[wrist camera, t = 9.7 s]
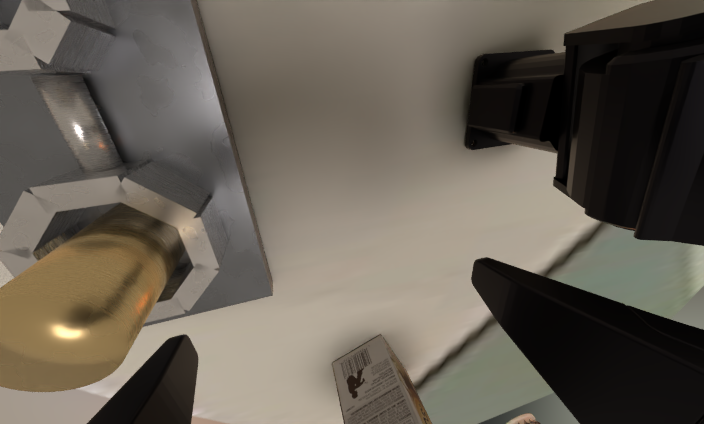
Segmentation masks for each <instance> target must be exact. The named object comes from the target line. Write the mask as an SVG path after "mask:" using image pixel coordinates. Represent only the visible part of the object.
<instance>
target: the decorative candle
mask: <svg viewBox="0 0 704 424" xmlns="http://www.w3.org/2000/svg"><path fill="white" fill-rule="evenodd" d="M506 424H540V423H539V422H537V421H535V417H534V416H533V415H532V414H529V413H527V414H523V415H519V416H517V417H516V418H513V419H512V420H510V421H509V422H507V423H506Z"/></svg>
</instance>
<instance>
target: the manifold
mask: <svg viewBox="0 0 704 424" xmlns="http://www.w3.org/2000/svg"><path fill="white" fill-rule="evenodd" d="M120 203H124V204H126V205H128V206H130V207H132V208H135V209H137V210H139V211H141V212H143V213H146V214H148V215H150V216H152V217H154V218H156V219H159V220H161V221H163V222H165V223H167V224H170V225H172V226H174V227H176V228H177V229H178V231H179V234H180V236H181V238H182V241H183V243H184V245H185V248H186V250H185V252H184V254H183V256H182V257H181V259H180V261H179V263H178V265H177V266H176V268H175V270H174V272H173V273H172V275H171V277H170V279H169V281H168V282H167V284H166V286H165V288H164V289H163V291H162V293H161V295H160V297H159V298H158V300H157V302H156V304H155V305H154V307H153V309H152V311H151V313H150V314H149V316H148V318H147V320H146V322H145V323H144V325H143V327H144V326H148V325H152V324H157V323H161V322H165V321H169V320H173V319H177V318H181V317H185V316H190V315H194V314H198V313H202V312H206V311H210V310H214V309H219V308H223V307H227V306H231V305H235V304H239V303H243V302H247V301H252V300H256V299H260V298H264V297H268V296H272V295H273V282H272V278H271V274H270V271H269V267H268V263H267V260H266V256H265V252H264V248H263V245H262V241H261V237H260V234H259V230H258V226H257V223H256V219H255V215H254V211H253V208H252V204H251V200H250V197H249V193H248V189H247V186H246V182H245V178H244V175H243V171H242V167H241V163H240V160H239V156H238V152H237V149H236V145H235V141H234V138H233V134H232V130H231V126H230V123H229V119H228V115H227V112H226V108H225V104H224V101H223V97H222V93H221V89H220V86H219V82H218V78H217V75H216V71H215V67H214V64H213V60H212V56H211V52H210V49H209V45H208V41H207V38H206V34H205V30H204V27H203V23H202V19H201V16H200V12H199V8H198V4H197V1H196V0H0V223H1V224H2V225H3V226H4V228H3V230H2V232H1V234H0V261H1V262H2V263H3V264H4V265H5V267H6V268H7V269H8V270H9V271H10V273H11V274H12V275H13V276H14V277H16V276H18V275H19V274H21V273H22V272H23V271H25V270H26V269H28V268H29V267H30V266H32V265H33V264H35V263H36V262H37V261H39V260H40V259H42V258H43V257H44V256H46V255H47V254H49V253H50V252H51V251H53V250H54V249H56V248H57V247H58V246H60V245H61V244H63V243H64V242H65V241H67V240H68V239H70V238H71V237H72V236H74V235H75V234H77V233H78V232H79V231H81V230H82V229H84V228H85V227H86V226H88V225H89V224H91V223H92V222H93V221H95V220H96V219H98V218H99V217H100V216H102V215H103V214H105V213H106V212H107V211H109V210H110V209H112V208H113V207H114V206H116V205H118V204H120Z"/></svg>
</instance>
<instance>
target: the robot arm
mask: <svg viewBox="0 0 704 424" xmlns="http://www.w3.org/2000/svg"><path fill="white" fill-rule="evenodd" d="M564 46H566V52H561V53H555V52H554V51H553V50H540V51H525V52H509V53H494V54H483V55H480V56H478V57H477V59H476V61H475V65H474V74H473V82H472V91H471V99H470V108H469V116H468V125H467V134H466V142H465V145H466V148H468V149H471V150H476V149H482V148H489V147H495V146H502V145H509V144H516V145H521V146H525V147H530V148H535V149H539V150H544V151H548V152H553V153H557V166H556V176H555V177H554V180H553V186H554V187H556V188H557V189H559V190H560V191H561V192H563V193H564V194H566V195H567V196H568V197H570V198H571V199H572V200H574V201H575V202H576V203H577V204H579V205H580V206H581V207H583V208H585V214H586V215H588V216H589V217H591V218H594V219H596V220H599V221H601V222H604V223H607V224H610V225H613V226H616V227H620V228H623V229H627V230H633V231H635V233H634V237H635V238H637V239H640V240H658V241H674V242H681V243H688V244H695V245H702V246H704V0H653V1H650V2H646V3H642V4H639V5H636V6H634V7H631V8H629V9H626V10H623V11H621V12H618V13H616V14H613V15H611V16H608V17H606V18H603V19H600V20H598V21H595V22H593V23H590V24H588V25H585V26H583V27H580V28H577V29H575V30H572V31H570V32H567V33H565V34H564ZM482 60H484V65H483V66H482ZM473 141H474V143H473V145H471V144H472V142H473ZM471 280H472V284H473V286H474V287H475V289H476V290H477V292H478V293H479V295H480V296H481V298H482V299H483V301H484V302H485V304H486V305H487V307H488V308H489V310H490V311H491V313H492V314H493V316H494V317H495V319H496V320H497V321H498V323H499V324H500V325H501V327H502V328H503V329H504V331H505V332H506V333H507V334H508V336H509V337H510V338H511V339H512V341H513V342H514V343H515V344H516V345H517V347H518V348H519V349H520V350H521V352H522V353H523V354H524V355H525V357H526V358H527V359H528V360H529V361H530V363H531V364H532V365H533V366H534V368H535V369H536V370H537V371H538V373H539V374H540V375H541V376H542V377H543V379H544V380H545V381H546V382H547V384H548V385H549V386H550V387H551V389H552V390H553V391H554V392H555V393H556V395H557V396H558V397H559V398H560V400H561V401H562V402H563V403H564V405H565V406H566V407H567V408H568V409H569V411H570V412H571V413H572V414H573V416H574V417H575V418H576V419H577V421H578V422H579V423H580V424H704V330H702V329H699V328H696V327H693V326H689V325H686V324H683V323H680V322H676V321H673V320H670V319H667V318H664V317H661V316H658V315H655V314H652V313H649V312H646V311H643V310H640V309H637V308H634V307H632V306H628V305H627V306H626V305H625V304H623V303H620V302H617V301H614V300H611V299H608V298H605V297H602V296H599V295H596V294H593V293H590V292H587V291H585V290H582V289H579V288H576V287H573V286H570V285H567V284H564V283H561V282H558V281H555V280H552V279H549V278H546V277H544V276H541V275H538V274H535V273H532V272H529V271H526V270H523V269H520V268H517V267H514V266H511V265H508V264H505V263H503V262H500V261H497V260H494V259H491V258H487V257H485V258H481V259H477V260H475V262H474V265H473V271H472V277H471ZM197 369H198V354H197V352H196V350H195V348H194V346H193V344H192V342H191V340H190V338H189V337H188V336H187V335H179V336H175V337H172V338H169V339H168V340H167V341H165V343H164V344H163V345H162V346H161V347H160V348H159V349H158V350H157V351H156V352H155V353H154V354H153V355H152V356H151V357H150V358H149V359H148V360H147V361H146V362H145V363H144V364H143V366H142V367H141V368H140V369H139V370H138V371H137V372H136V373H135V374H134V375H133V376H132V377H131V378H130V379H129V380H128V381H127V382H126V383H125V384H124V385H123V386H122V387H121V389H120V390H119V391H118V392H117V393H116V394H115V395H114V396H113V397H112V398H111V399H110V400H109V401H108V402H107V403H106V404H105V405H104V406H103V407H102V408H101V410H99V412H98V413H97V414H96V415H95V416H94V417H93V418H92V419H91V420H90V421H89V422H88V423H87V424H191V418H192V412H193V403H194V395H195V386H196V378H197Z"/></svg>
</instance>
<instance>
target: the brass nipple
mask: <svg viewBox="0 0 704 424" xmlns="http://www.w3.org/2000/svg"><path fill="white" fill-rule="evenodd" d="M185 250H186V248H185V245H184V243H183V241H182V238H181V236H180V234H179V231H178V229H177V228H176V227H174V226H172V225H170V224H167V223H165V222H163V221H161V220H159V219H156V218H154V217H152V216H150V215H148V214H146V213H143V212H141V211H139V210H137V209H135V208H132V207H130V206H128V205H126V204H124V203H120V204H118V205H116V206H114V207H113V208H112V209H110V210H109V211H107V212H106V213H105V214H103V215H102V216H100V217H99V218H98V219H96V220H95V221H93V222H92V223H91V224H89V225H88V226H86V227H85V228H84V229H82V230H81V231H79V232H78V233H77V234H75V235H74V236H72V237H71V238H70V239H68V240H67V241H65V242H64V243H63V244H61V245H60V246H58V247H57V248H56V249H54V250H53V251H51V252H50V253H49V254H47V255H46V256H44V257H43V258H42V259H40V260H39V261H37V262H36V263H35V264H33V265H32V266H30V267H29V268H28V269H26V270H25V271H23V272H22V273H21V274H19V275H18V276H16V277H15V278H14V279H12V280H11V281H9V282H8V283H7V284H5V285H4V286H2V287H1V288H0V386H1V387H5V388H9V389H15V390H21V391H30V392H55V391H64V390H71V389H76V388H80V387H84V386H87V385H90V384H93V383H95V382H97V381H100V380H102V379H103V378H105V377H107V376H108V375H110V374H111V373H113V372H114V371H115V370H116V369H117V368H118V367H119V366H120V365H121V364H122V362H123V361H124V359H125V357H126V355H127V354H128V352H129V350H130V348H131V346H132V345H133V343H134V341H135V339H136V338H137V336H138V334H139V332H140V330H141V329H142V327H143V325H144V323H145V322H146V320H147V318H148V316H149V314H150V313H151V311H152V309H153V307H154V305H155V304H156V302H157V300H158V298H159V297H160V295H161V293H162V291H163V289H164V288H165V286H166V284H167V282H168V281H169V279H170V277H171V275H172V273H173V272H174V270H175V268H176V266H177V265H178V263H179V261H180V259H181V257H182V256H183V254H184V252H185Z"/></svg>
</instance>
